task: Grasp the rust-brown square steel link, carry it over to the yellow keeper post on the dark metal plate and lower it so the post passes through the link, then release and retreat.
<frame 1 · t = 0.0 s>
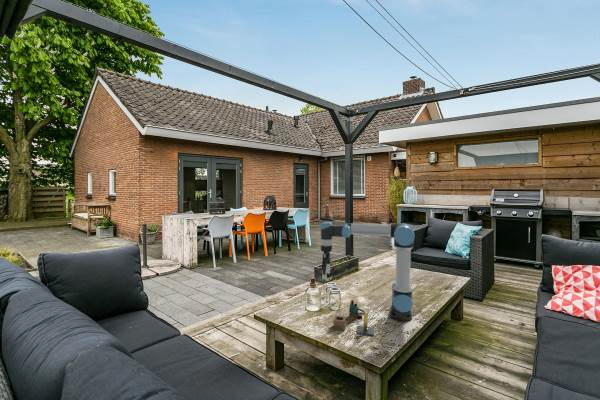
hand: (326, 276, 207), 28 cm above the table, fingers open, 13 cm apart
link: (339, 327, 192), on the table
binoculars: (356, 316, 208), on the table
keeper: (365, 331, 188), on the table
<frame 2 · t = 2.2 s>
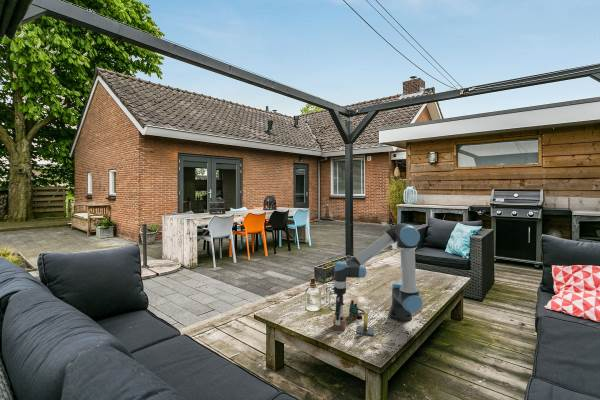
hand: (339, 319, 192), 5 cm above the table, fingers open, 13 cm apart
nothing on the table moved.
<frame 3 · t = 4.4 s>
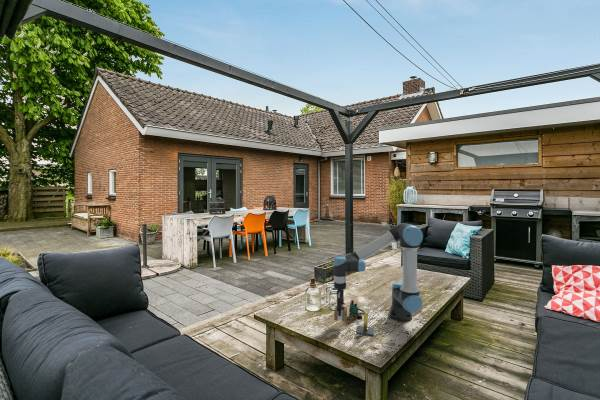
hand: (340, 317, 192), 7 cm above the table, fingers closed on link, 7 cm apart
link: (340, 318, 192), point 6 cm above the table, touching gripper
everything else where it was.
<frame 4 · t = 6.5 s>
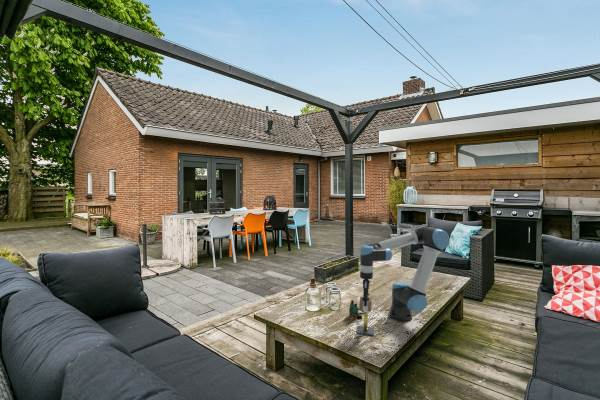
hand: (365, 308, 187), 15 cm above the table, fingers closed on link, 7 cm apart
link: (365, 308, 187), point 14 cm above the table, touching gripper
everything else where it was.
when the fingers open (3 cm above the table, at t = 8.9 s): link drops 1 cm, resting on keeper.
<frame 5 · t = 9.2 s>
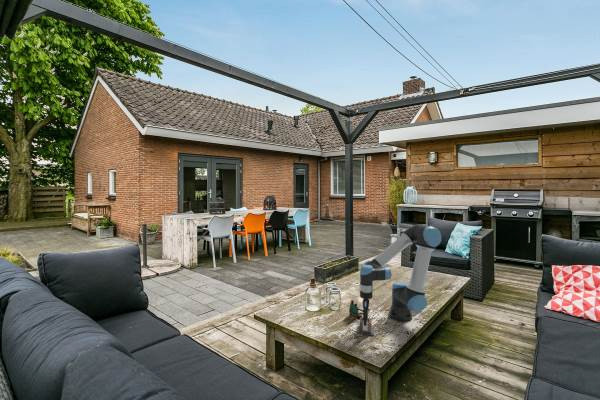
hand: (365, 325, 188), 4 cm above the table, fingers open, 11 cm apart
link: (365, 329, 188), point 1 cm above the table, touching keeper
everything else where it was.
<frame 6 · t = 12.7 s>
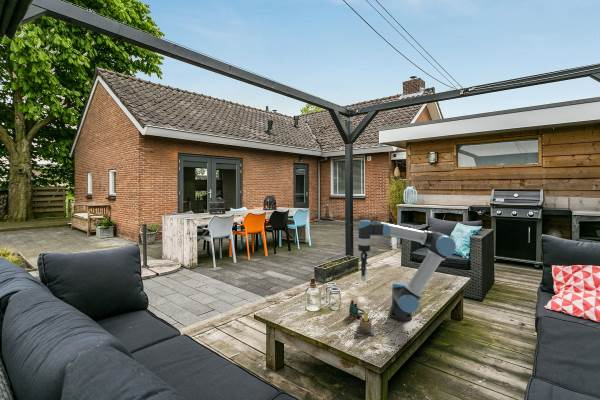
hand: (363, 277, 195), 31 cm above the table, fingers open, 13 cm apart
nothing on the table moved.
at the end: link 0.0 cm off-centre on the keeper, point 1.0 cm above the keeper's base; the gripper is holding nothing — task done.
